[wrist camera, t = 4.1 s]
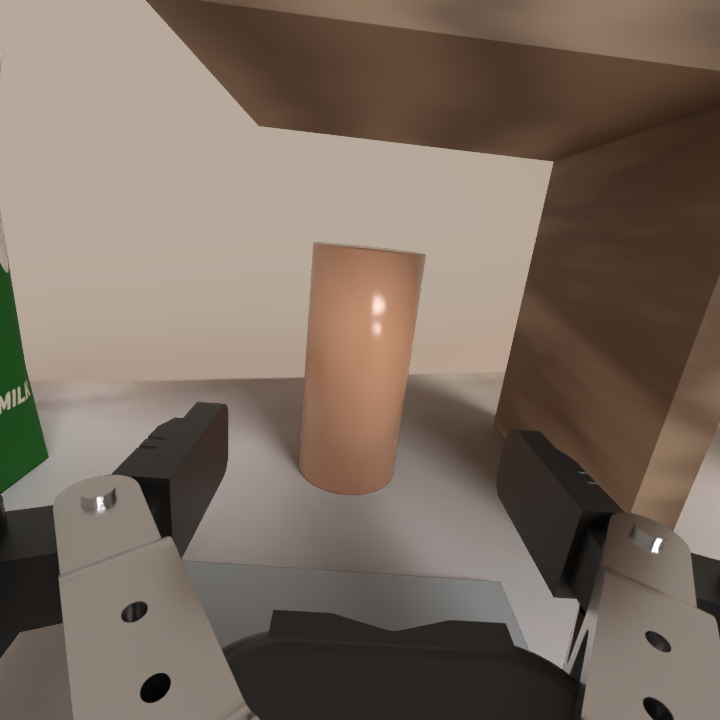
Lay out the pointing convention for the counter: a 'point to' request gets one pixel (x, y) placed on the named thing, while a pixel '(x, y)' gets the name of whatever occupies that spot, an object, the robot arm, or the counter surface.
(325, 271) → the peach cylinder
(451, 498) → the counter surface
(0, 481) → the milk carton
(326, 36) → the walnut shelf
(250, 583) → the slate mat
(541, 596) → the counter surface
